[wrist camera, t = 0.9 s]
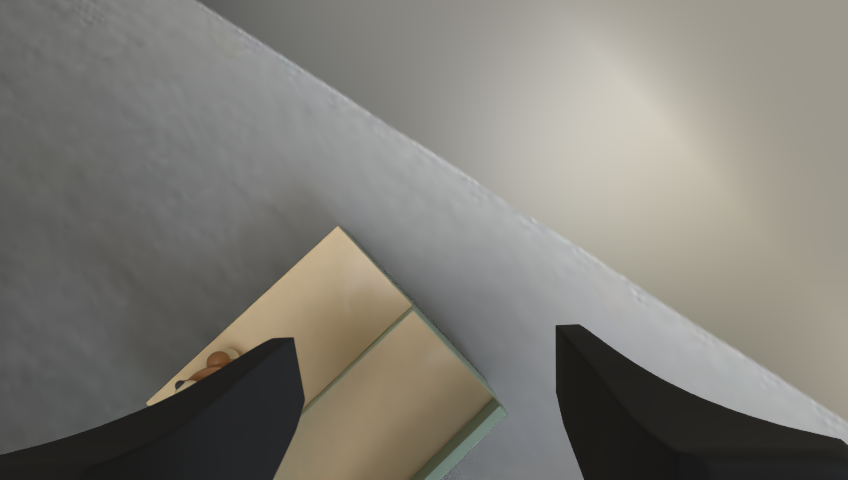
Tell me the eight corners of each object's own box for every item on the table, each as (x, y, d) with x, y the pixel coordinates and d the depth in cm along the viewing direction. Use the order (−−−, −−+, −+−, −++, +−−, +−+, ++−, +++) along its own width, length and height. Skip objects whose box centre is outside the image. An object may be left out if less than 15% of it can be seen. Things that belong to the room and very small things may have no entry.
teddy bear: (235, 440, 28) (183, 491, 22) (185, 385, 28) (118, 420, 22) (286, 391, 28) (250, 428, 22) (236, 337, 28) (185, 358, 22)
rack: (313, 551, 30) (286, 629, 24) (167, 391, 30) (101, 425, 24) (488, 382, 31) (508, 413, 24) (343, 228, 31) (325, 218, 25)
